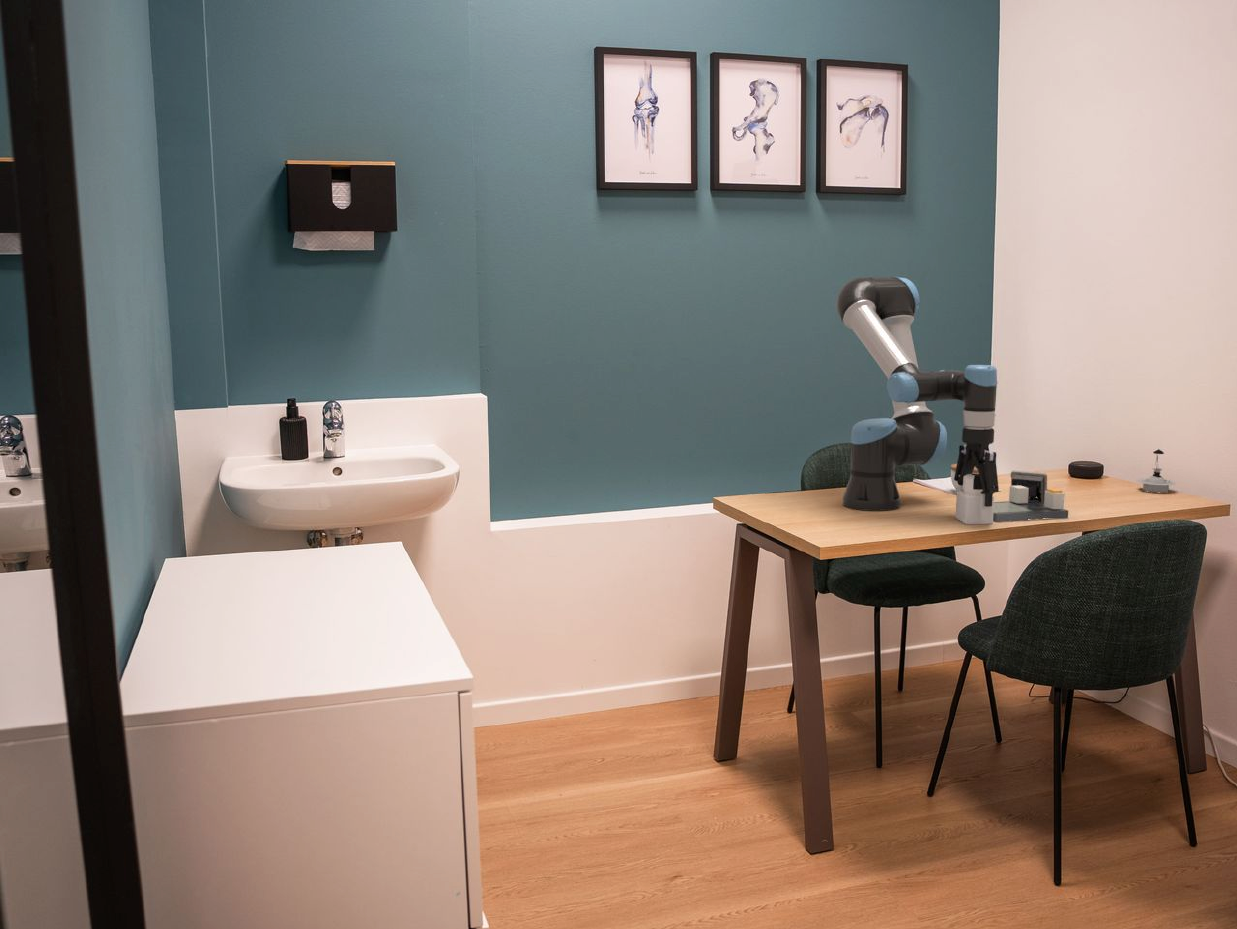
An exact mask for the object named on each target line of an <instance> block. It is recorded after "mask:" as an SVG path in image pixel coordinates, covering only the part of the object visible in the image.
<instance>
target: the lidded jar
mask: <svg viewBox="0 0 1237 929" xmlns="http://www.w3.org/2000/svg"><path fill="white" fill-rule="evenodd" d="M956 466H957V463H953V464H950V479H951V484H952V485H953V486H952V487H954V489H955V490H956V492H958V491H959V485H958V482H957V481H955V480H954V476H955V471H956ZM972 474H979V472H978V469H977V468H976V467H974V470H973V473H972ZM959 476H960V475H959Z"/></svg>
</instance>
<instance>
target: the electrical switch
mask: <svg viewBox="0 0 1237 929" xmlns="http://www.w3.org/2000/svg"><path fill="white" fill-rule="evenodd" d="M1010 478H1011V481H1010V483H1011V484H1010V486H1018V485H1021V486H1024V487H1027V488H1029V492H1028V500H1039V501H1042V502H1044V496H1045V491H1047V489H1048V474H1047V473H1045V472H1037V471H1025V470H1012V471H1011V472H1010Z"/></svg>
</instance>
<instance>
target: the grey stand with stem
mask: <svg viewBox="0 0 1237 929" xmlns="http://www.w3.org/2000/svg"><path fill="white" fill-rule="evenodd" d="M1153 454H1154V455H1155V454H1156V457H1155V460H1156V465H1155V466H1156V468H1152V470H1153V474H1152V475H1151V476H1149V477H1147V478H1139V479H1137V480H1136V482H1138V483H1140V484H1142V491H1143V492H1145V491H1148V492H1147V493H1150V492H1160V493H1159V494H1165V493H1164V492H1168V493H1169V489H1170V486H1173V485H1176V484H1177V482H1175V481H1172V480H1171V479H1165V478H1164V477H1163V476H1161V471H1163V469H1162V468H1158V466H1159V464H1158V459H1159V455H1164V451H1162V450H1161V449H1159V448H1158V449H1157V450H1154V451H1153ZM1162 492H1163V493H1162Z"/></svg>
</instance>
